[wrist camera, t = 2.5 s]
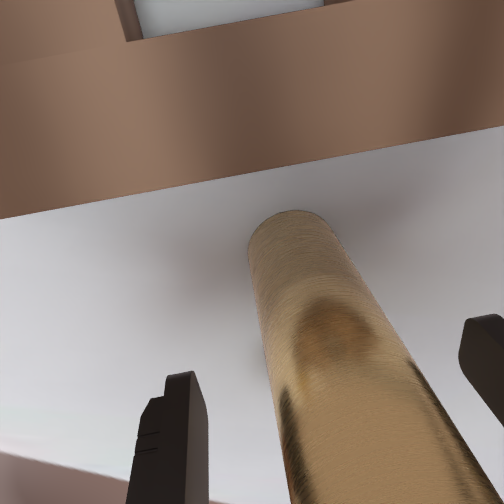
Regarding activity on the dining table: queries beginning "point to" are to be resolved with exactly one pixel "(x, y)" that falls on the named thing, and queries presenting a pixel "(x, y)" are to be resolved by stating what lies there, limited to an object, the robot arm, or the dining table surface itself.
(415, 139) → the hole board
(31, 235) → the dining table surface
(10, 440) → the dining table surface
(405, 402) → the tall pin
